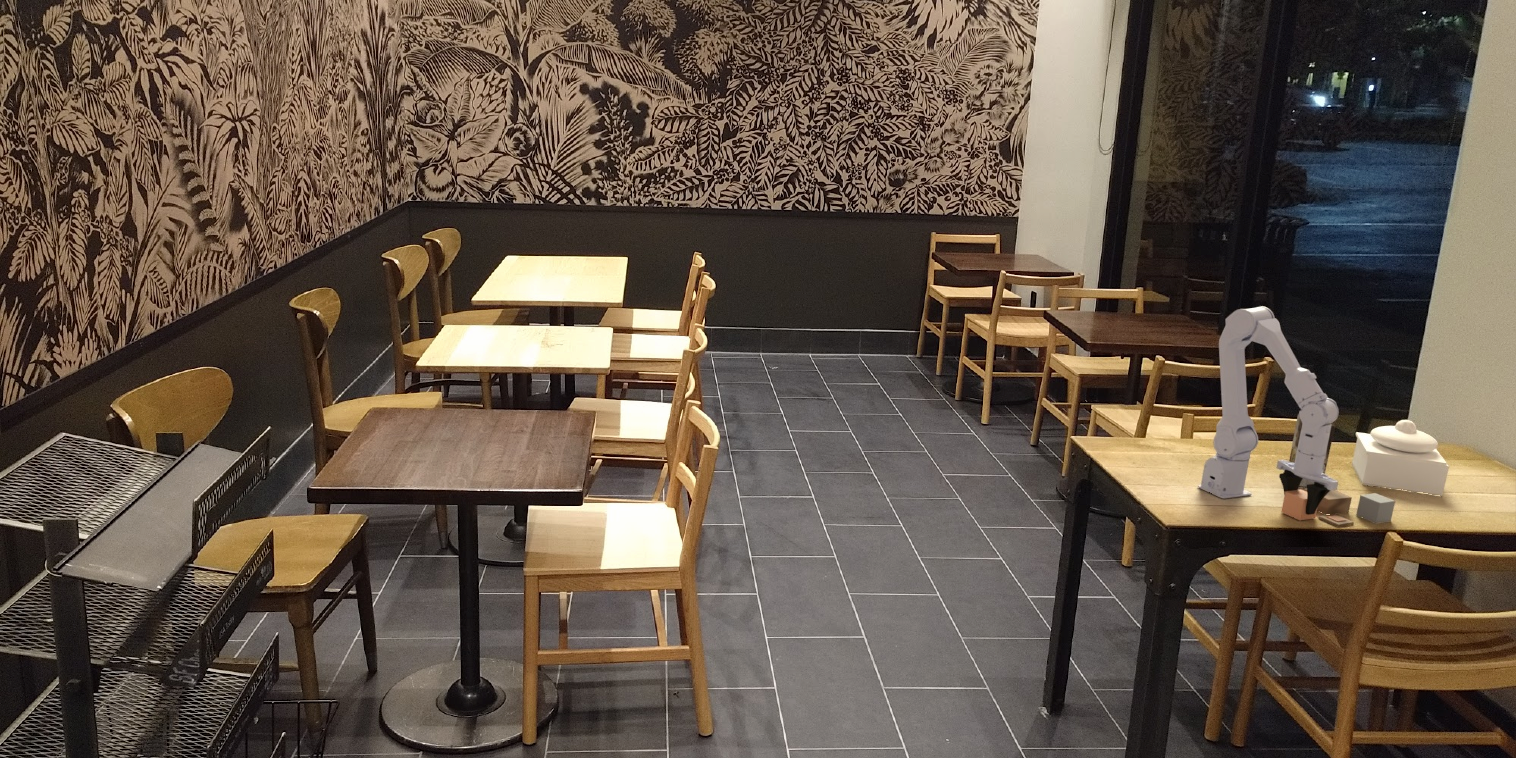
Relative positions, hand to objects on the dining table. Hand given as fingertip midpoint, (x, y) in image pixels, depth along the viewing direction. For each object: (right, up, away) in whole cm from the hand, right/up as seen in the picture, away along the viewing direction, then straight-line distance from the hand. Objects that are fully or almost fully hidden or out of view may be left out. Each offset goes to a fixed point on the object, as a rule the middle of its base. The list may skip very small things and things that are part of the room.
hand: (1299, 509), depth 251 cm
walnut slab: (+9, -1, +7) cm, 11 cm away
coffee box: (+13, +4, +24) cm, 28 cm away
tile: (+7, -3, -2) cm, 8 cm away
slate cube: (+18, -2, +2) cm, 18 cm away
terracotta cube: (0, -1, 0) cm, 1 cm away
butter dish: (+38, +4, +30) cm, 49 cm away
